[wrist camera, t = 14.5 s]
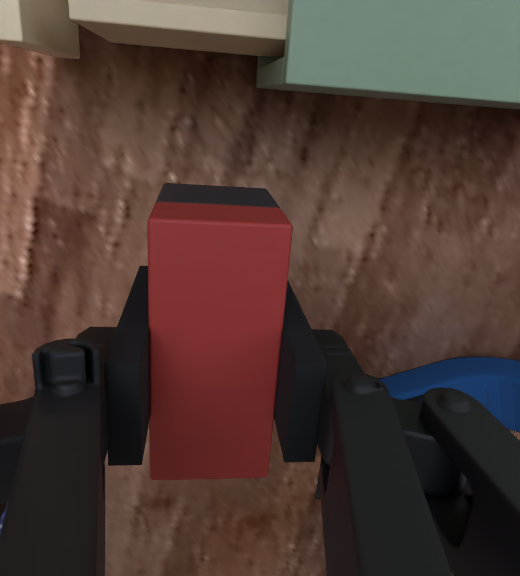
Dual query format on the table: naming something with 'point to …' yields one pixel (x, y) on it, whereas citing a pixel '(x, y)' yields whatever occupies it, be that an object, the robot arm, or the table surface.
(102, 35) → the drawer
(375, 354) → the table surface
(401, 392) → the handheld scanner
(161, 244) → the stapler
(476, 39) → the cabinet
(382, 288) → the table surface
